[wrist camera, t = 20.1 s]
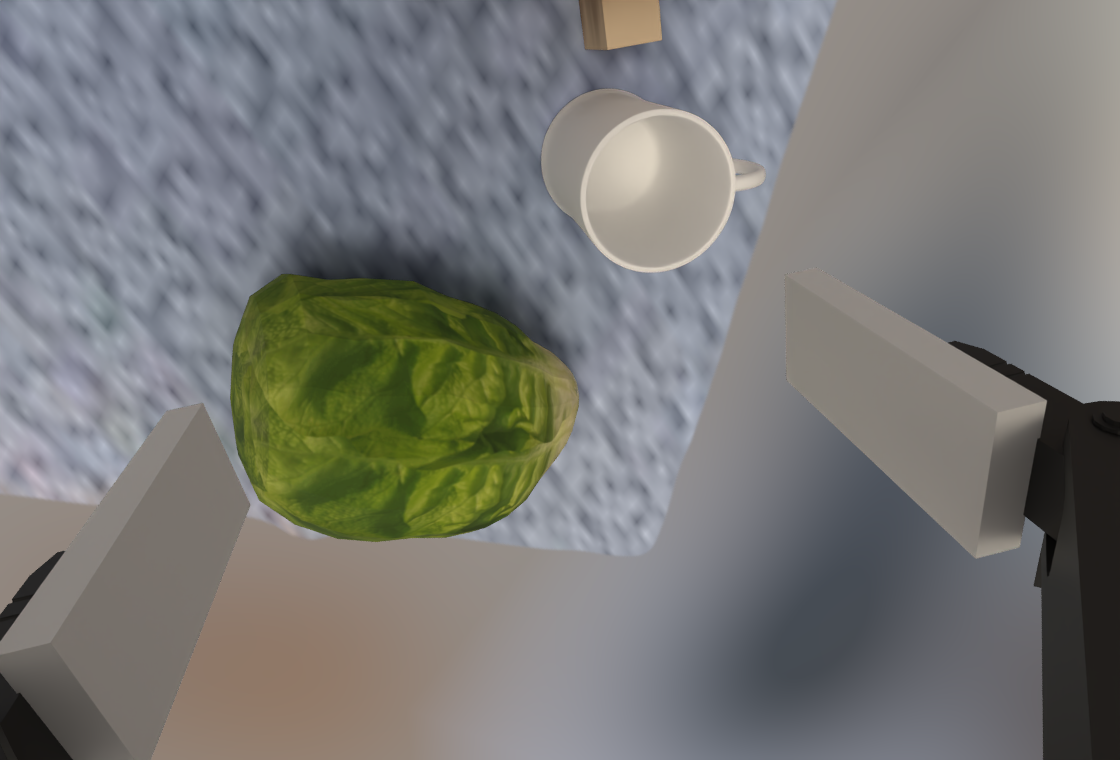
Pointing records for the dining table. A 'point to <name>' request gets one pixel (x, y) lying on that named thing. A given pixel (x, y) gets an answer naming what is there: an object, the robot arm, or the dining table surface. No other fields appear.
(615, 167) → the mug
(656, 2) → the backstop
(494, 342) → the lettuce
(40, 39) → the dining table surface
